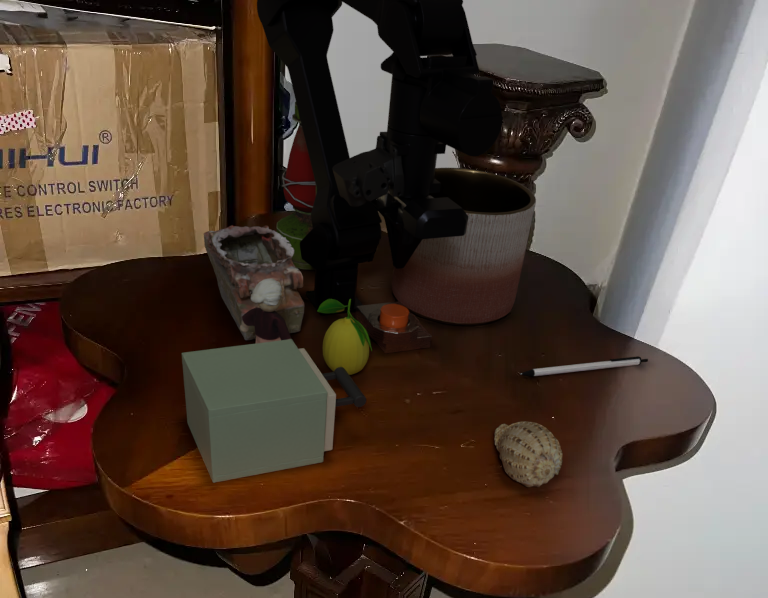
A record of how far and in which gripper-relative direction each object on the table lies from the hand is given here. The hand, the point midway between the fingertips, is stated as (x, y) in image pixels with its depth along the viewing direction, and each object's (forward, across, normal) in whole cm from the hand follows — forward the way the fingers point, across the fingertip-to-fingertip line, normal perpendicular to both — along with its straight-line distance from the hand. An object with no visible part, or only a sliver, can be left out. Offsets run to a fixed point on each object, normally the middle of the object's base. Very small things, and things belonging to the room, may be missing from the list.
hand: (398, 267), depth 93 cm
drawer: (+10, +15, -19) cm, 26 cm away
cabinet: (+11, +15, -23) cm, 29 cm away
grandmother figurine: (+11, +4, -18) cm, 21 cm away
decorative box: (+11, -14, -16) cm, 23 cm away
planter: (+11, -10, +14) cm, 20 cm away
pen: (+11, +12, +22) cm, 28 cm away
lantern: (+11, -29, 0) cm, 31 cm away
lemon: (+11, +5, -9) cm, 15 cm away
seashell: (+11, +27, +3) cm, 30 cm away
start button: (+8, 0, 0) cm, 8 cm away
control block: (+11, -3, +2) cm, 11 cm away
